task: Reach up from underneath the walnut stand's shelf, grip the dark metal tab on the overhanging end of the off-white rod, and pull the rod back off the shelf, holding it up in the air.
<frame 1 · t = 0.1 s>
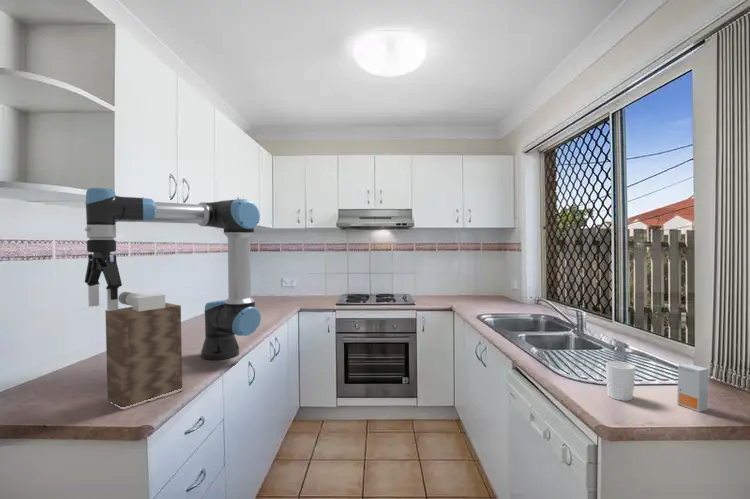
hand: (103, 308, 130), 28 cm above the countertop, tool pointing down, fingers open, 13 cm apart
skincare box: (692, 408, 123), on the countertop
white cup: (619, 397, 131), on the countertop
rod: (138, 306, 134), point 28 cm above the countertop, touching stand
stand: (146, 396, 132), on the countertop
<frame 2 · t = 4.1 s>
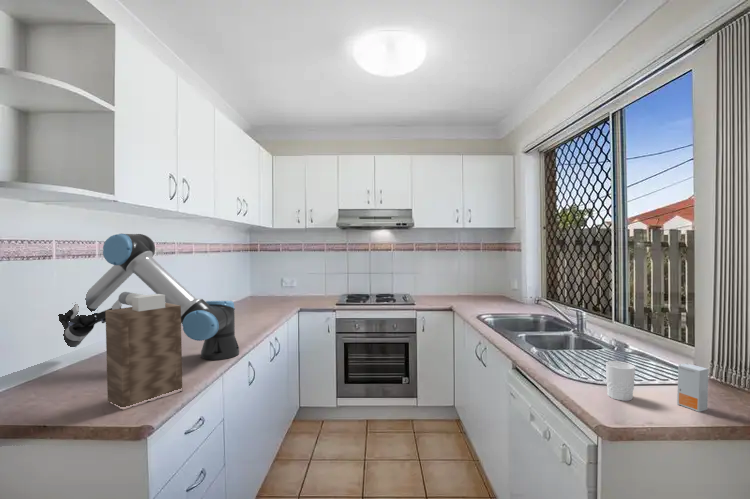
hand: (99, 304, 151), 26 cm above the countertop, tool pointing upward, fingers open, 13 cm apart
nothing on the countertop moved.
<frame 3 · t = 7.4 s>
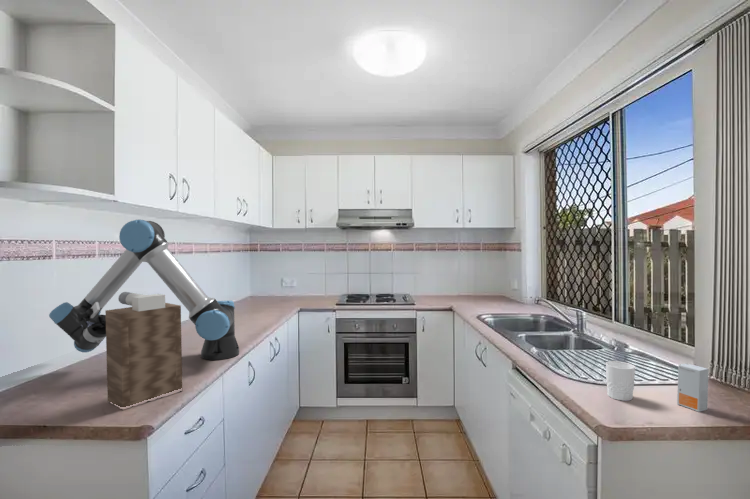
hand: (121, 302, 139), 28 cm above the countertop, tool pointing upward, fingers open, 13 cm apart
nothing on the countertop moved.
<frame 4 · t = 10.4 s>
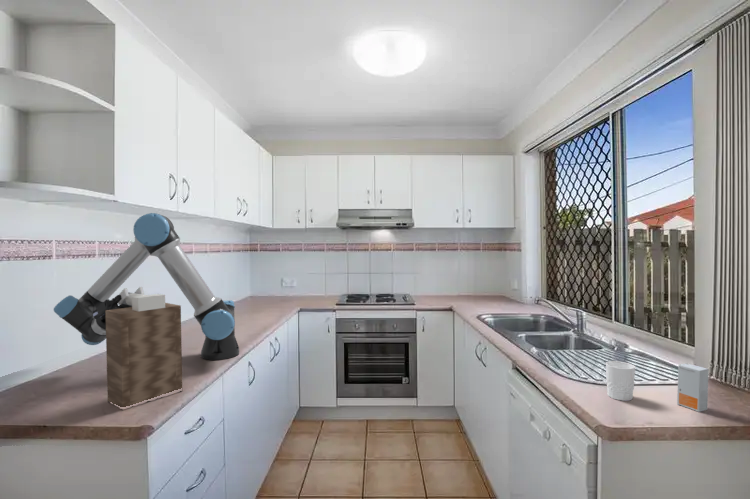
hand: (134, 291, 135), 33 cm above the countertop, tool pointing upward, fingers closed on rod, 4 cm apart
rod: (138, 306, 134), point 28 cm above the countertop, touching gripper, stand
everything else where it was.
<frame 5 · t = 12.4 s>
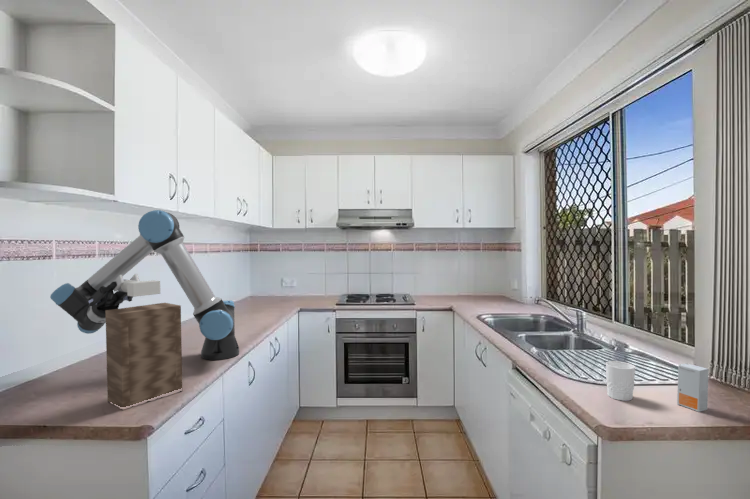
hand: (129, 278, 136), 37 cm above the countertop, tool pointing upward, fingers closed on rod, 4 cm apart
rod: (133, 293, 135), point 32 cm above the countertop, touching gripper
everything else where it was.
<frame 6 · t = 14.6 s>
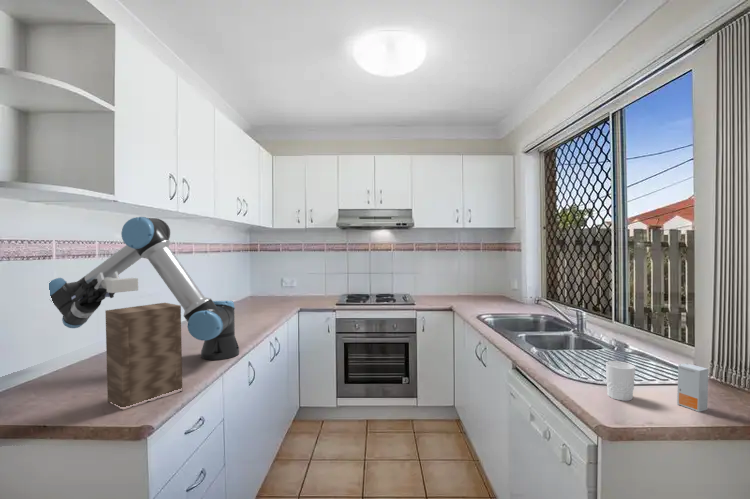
hand: (109, 275, 145), 37 cm above the countertop, tool pointing upward, fingers closed on rod, 4 cm apart
rod: (113, 289, 143), point 32 cm above the countertop, touching gripper
everything else where it was.
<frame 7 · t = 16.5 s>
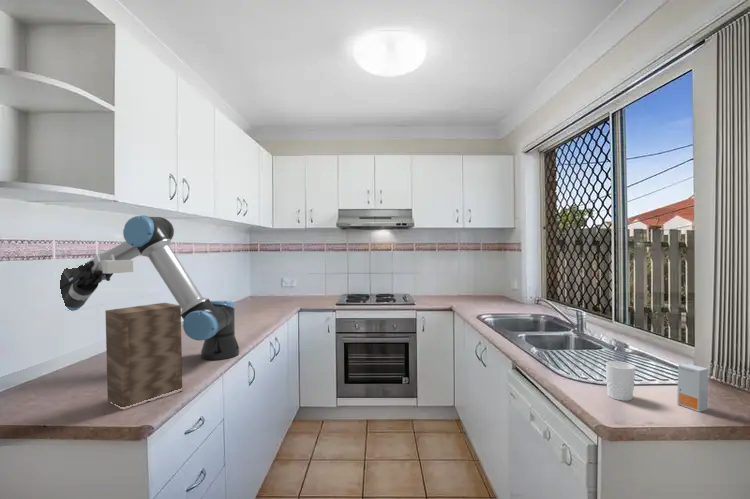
hand: (105, 257, 149), 43 cm above the countertop, tool pointing upward, fingers closed on rod, 4 cm apart
rod: (109, 271, 148), point 38 cm above the countertop, touching gripper
everything else where it was.
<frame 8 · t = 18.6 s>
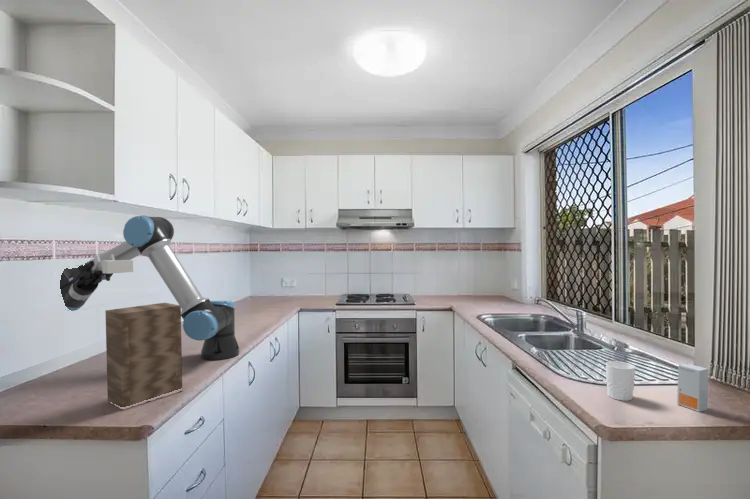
hand: (105, 257, 149), 43 cm above the countertop, tool pointing upward, fingers closed on rod, 4 cm apart
rod: (109, 271, 148), point 38 cm above the countertop, touching gripper
everything else where it was.
at the end: rod touching gripper; rod moved 25.1 cm from its start; rod point 38.0 cm above the countertop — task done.
